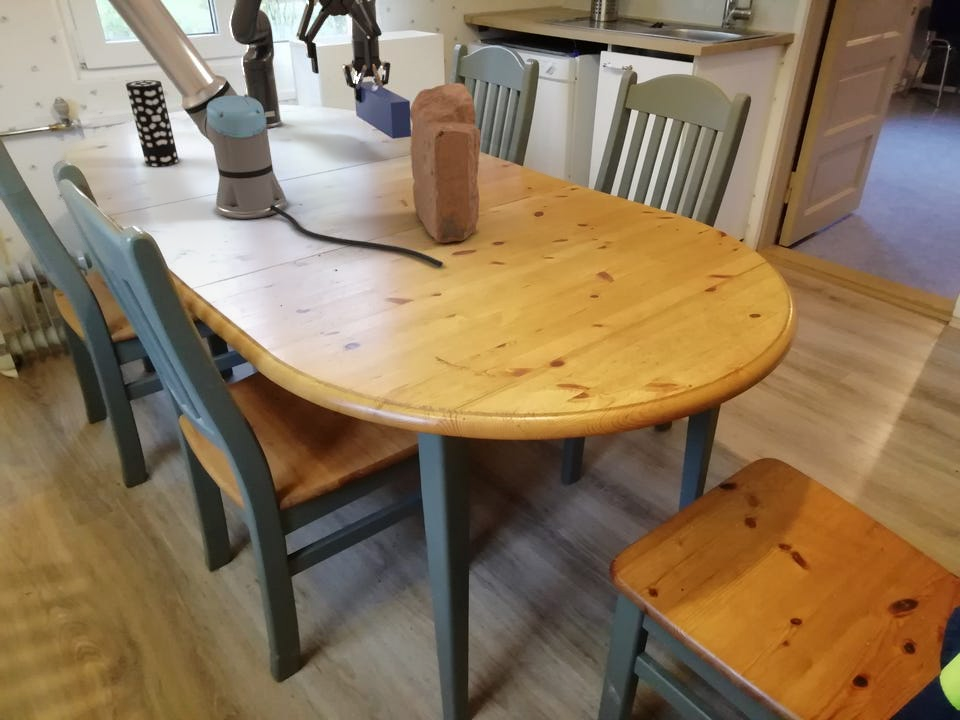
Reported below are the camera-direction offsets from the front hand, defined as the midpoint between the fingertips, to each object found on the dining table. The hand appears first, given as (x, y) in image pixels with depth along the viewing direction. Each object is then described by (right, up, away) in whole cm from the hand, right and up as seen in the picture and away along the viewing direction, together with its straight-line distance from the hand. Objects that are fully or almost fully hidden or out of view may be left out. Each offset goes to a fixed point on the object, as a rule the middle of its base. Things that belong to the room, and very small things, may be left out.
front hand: (342, 70), depth 167 cm
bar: (+5, -3, +30) cm, 30 cm away
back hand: (+1, +5, +34) cm, 34 cm away
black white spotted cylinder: (-53, -8, +14) cm, 55 cm away
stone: (+26, -41, -16) cm, 51 cm away
